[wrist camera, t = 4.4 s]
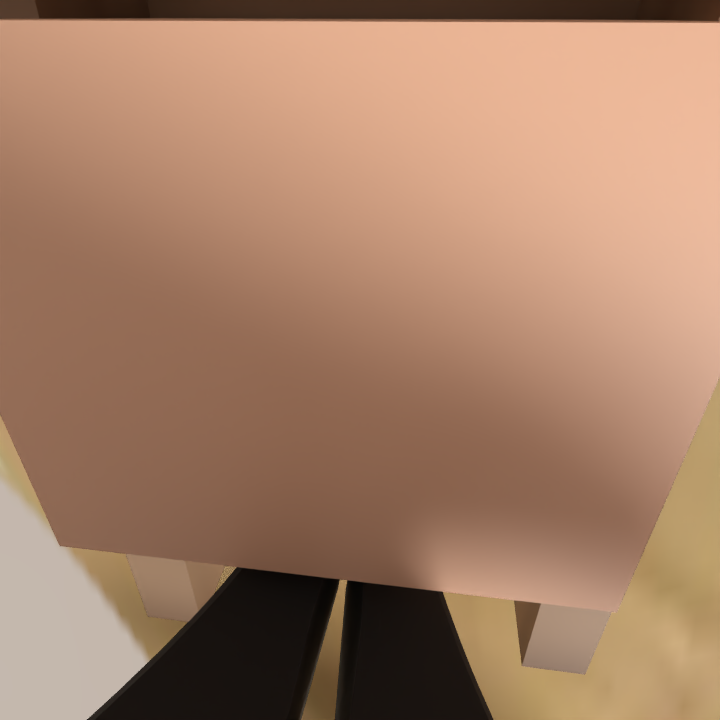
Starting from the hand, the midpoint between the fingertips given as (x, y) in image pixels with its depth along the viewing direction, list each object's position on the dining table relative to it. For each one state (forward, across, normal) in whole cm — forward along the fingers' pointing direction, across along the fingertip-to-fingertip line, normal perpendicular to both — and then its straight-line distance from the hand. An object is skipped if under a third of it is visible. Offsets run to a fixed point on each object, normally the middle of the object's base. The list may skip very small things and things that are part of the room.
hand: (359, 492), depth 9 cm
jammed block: (+2, 0, -4) cm, 5 cm away
